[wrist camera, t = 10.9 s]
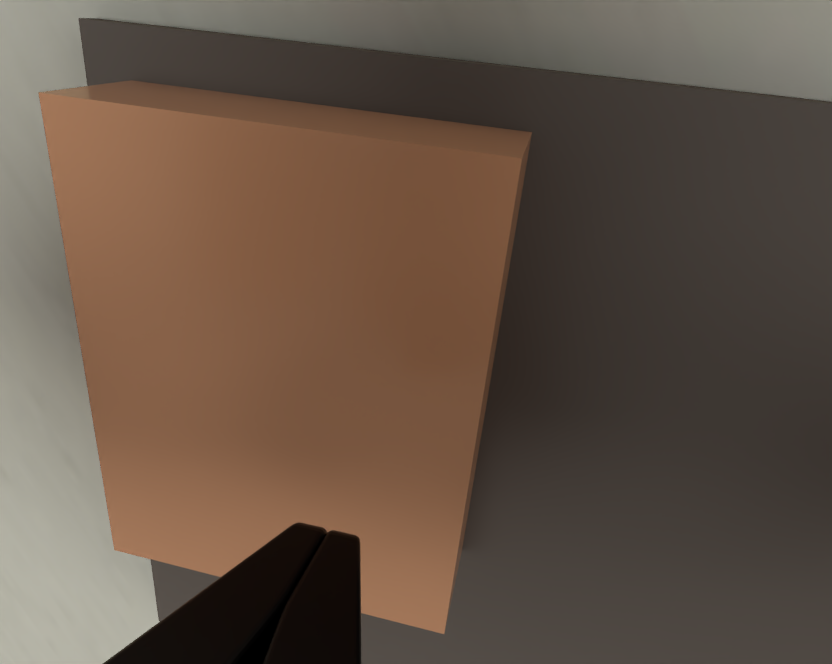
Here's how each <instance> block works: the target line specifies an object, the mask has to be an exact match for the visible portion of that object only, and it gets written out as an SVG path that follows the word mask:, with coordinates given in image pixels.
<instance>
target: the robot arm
mask: <svg viewBox="0 0 832 664" xmlns="http://www.w3.org/2000/svg"><path fill="white" fill-rule="evenodd" d="M103 664H362V663H361V557H360V538H359V537H358V536H356V535H353V534H349V533H344V532H340V531H336V530H331V531H329V532H327V530H326V529H324V528H323V527H319V526H314V525H310V524H306V523H301V522H298V523H295V524H293V525H291V526H290V527H288V528H287V529H286V530H284V531H283V532H281V533H280V534H279V535H277V536H276V537H275V538H273V539H272V540H271V541H269V542H268V543H266V544H265V545H264V546H262V547H261V548H260V549H258V550H257V551H256V552H254V553H253V554H252V555H250V556H249V557H247V558H246V559H245V560H243V561H242V562H241V563H239V564H238V565H237V566H235V567H234V568H232V569H231V570H230V571H228V572H227V573H226V574H224V575H223V576H222V577H220V578H219V579H217V580H216V581H215V582H213V583H212V584H211V585H209V586H208V587H207V588H205V589H204V590H203V591H201V592H200V593H198V594H197V595H196V596H194V597H193V598H192V599H190V600H189V601H188V602H186V603H185V604H183V605H182V606H181V607H179V608H178V609H177V610H175V611H174V612H173V613H171V614H170V615H168V616H167V617H166V618H164V619H163V620H162V621H160V622H159V623H158V624H156V625H155V626H154V627H152V628H151V629H149V630H148V631H147V632H145V633H144V634H143V635H141V636H140V637H139V638H137V639H136V640H134V641H133V642H132V643H130V644H129V645H128V646H126V647H125V648H124V649H122V650H121V651H120V652H118V653H117V654H115V655H114V656H113V657H111V658H110V659H109V660H107V661H106V662H105V663H103Z"/></svg>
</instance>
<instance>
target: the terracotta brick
mask: <svg viewBox="0 0 832 664" xmlns="http://www.w3.org/2000/svg"><path fill="white" fill-rule="evenodd" d="M39 98H40V104H41V110H42V116H43V122H44V128H45V134H46V140H47V146H48V152H49V158H50V164H51V170H52V176H53V182H54V188H55V194H56V200H57V206H58V212H59V218H60V225H61V231H62V237H63V243H64V249H65V255H66V261H67V267H68V273H69V279H70V285H71V291H72V297H73V303H74V309H75V315H76V321H77V327H78V333H79V339H80V345H81V351H82V357H83V363H84V369H85V375H86V381H87V387H88V393H89V399H90V405H91V411H92V417H93V423H94V429H95V435H96V441H97V447H98V453H99V459H100V466H101V472H102V478H103V484H104V490H105V496H106V502H107V508H108V514H109V520H110V526H111V532H112V538H113V544H114V550H117V551H121V552H125V553H128V554H132V555H136V556H140V557H144V558H148V559H152V560H156V561H160V562H164V563H168V564H171V565H175V566H179V567H183V568H187V569H191V570H195V571H199V572H203V573H207V574H211V575H214V576H218V577H222V576H223V575H224V574H226V573H227V572H228V571H230V570H231V569H232V568H234V567H235V566H237V565H238V564H239V563H241V562H242V561H243V560H245V559H246V558H247V557H249V556H250V555H252V554H253V553H254V552H256V551H257V550H258V549H260V548H261V547H262V546H264V545H265V544H266V543H268V542H269V541H271V540H272V539H273V538H275V537H276V536H277V535H279V534H280V533H281V532H283V531H284V530H286V529H287V528H288V527H290V526H291V525H293V524H295V523H298V522H301V523H306V524H310V525H314V526H319V527H323V528H324V529H326V530H327V532H329V531H331V530H336V531H340V532H344V533H349V534H353V535H356V536H358V537H359V538H360V557H361V613H363V614H367V615H371V616H375V617H379V618H383V619H387V620H391V621H394V622H398V623H402V624H406V625H410V626H414V627H418V628H422V629H426V630H430V631H434V632H437V633H441V634H444V633H445V628H446V623H447V619H448V614H449V609H450V604H451V600H452V595H453V590H454V586H455V581H456V576H457V572H458V567H459V562H460V557H461V553H462V547H463V541H464V535H465V529H466V523H467V517H468V511H469V505H470V500H471V494H472V488H473V482H474V476H475V470H476V464H477V458H478V452H479V446H480V440H481V434H482V428H483V422H484V416H485V410H486V404H487V398H488V392H489V386H490V380H491V374H492V368H493V362H494V356H495V350H496V344H497V338H498V332H499V326H500V320H501V314H502V308H503V302H504V296H505V290H506V285H507V279H508V273H509V267H510V261H511V255H512V249H513V243H514V237H515V231H516V225H517V219H518V213H519V207H520V201H521V195H522V189H523V183H524V177H525V171H526V165H527V159H528V153H529V147H530V141H531V135H532V132H526V131H519V130H511V129H503V128H495V127H488V126H480V125H472V124H465V123H457V122H449V121H441V120H434V119H426V118H418V117H411V116H403V115H395V114H387V113H380V112H372V111H364V110H356V109H349V108H341V107H333V106H326V105H318V104H310V103H302V102H295V101H287V100H279V99H272V98H264V97H256V96H248V95H241V94H233V93H225V92H217V91H210V90H202V89H194V88H187V87H179V86H171V85H163V84H156V83H148V82H140V81H133V80H130V81H122V82H114V83H107V84H99V85H92V86H84V87H77V88H69V89H61V90H54V91H46V92H39Z"/></svg>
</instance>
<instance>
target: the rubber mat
mask: <svg viewBox="0 0 832 664" xmlns="http://www.w3.org/2000/svg"><path fill="white" fill-rule="evenodd" d="M79 25H80V33H81V40H82V48H83V55H84V63H85V70H86V78H87V85H88V86H92V85H99V84H107V83H114V82H122V81H130V80H133V81H140V82H148V83H156V84H163V85H171V86H179V87H187V88H194V89H202V90H210V91H217V92H225V93H233V94H241V95H248V96H256V97H264V98H272V99H279V100H287V101H295V102H302V103H310V104H318V105H326V106H333V107H341V108H349V109H356V110H364V111H372V112H380V113H387V114H395V115H403V116H411V117H418V118H426V119H434V120H441V121H449V122H457V123H465V124H472V125H480V126H488V127H495V128H503V129H511V130H519V131H526V132H532V135H531V141H530V147H529V153H528V159H527V165H526V171H525V177H524V183H523V189H522V195H521V201H520V207H519V213H518V219H517V225H516V231H515V237H514V243H513V249H512V255H511V261H510V267H509V273H508V279H507V285H506V290H505V296H504V302H503V308H502V314H501V320H500V326H499V332H498V338H497V344H496V350H495V356H494V362H493V368H492V374H491V380H490V386H489V392H488V398H487V404H486V410H485V416H484V422H483V428H482V434H481V440H480V446H479V452H478V458H477V464H476V470H475V476H474V482H473V488H472V494H471V500H470V505H469V511H468V517H467V523H466V529H465V535H464V541H463V547H462V553H461V557H460V562H459V567H458V572H457V576H456V581H455V586H454V590H453V595H452V600H451V604H450V609H449V614H448V619H447V623H446V628H445V633H444V634H441V633H437V632H434V631H430V630H426V629H422V628H418V627H414V626H410V625H406V624H402V623H398V622H394V621H391V620H387V619H383V618H379V617H375V616H371V615H367V614H363V613H361V663H362V664H832V102H827V101H819V100H810V99H801V98H792V97H783V96H774V95H766V94H757V93H748V92H739V91H730V90H721V89H713V88H704V87H695V86H686V85H677V84H668V83H659V82H651V81H642V80H633V79H624V78H615V77H606V76H598V75H589V74H580V73H571V72H562V71H553V70H545V69H536V68H527V67H518V66H509V65H500V64H492V63H483V62H474V61H465V60H456V59H447V58H439V57H430V56H421V55H412V54H403V53H394V52H386V51H377V50H368V49H359V48H350V47H341V46H333V45H324V44H315V43H306V42H297V41H288V40H280V39H271V38H262V37H253V36H244V35H235V34H227V33H218V32H209V31H200V30H191V29H182V28H174V27H165V26H156V25H147V24H138V23H129V22H121V21H112V20H103V19H93V18H79ZM151 565H152V572H153V580H154V587H155V595H156V602H157V610H158V617H159V621H162V620H163V619H164V618H166V617H167V616H168V615H170V614H171V613H173V612H174V611H175V610H177V609H178V608H179V607H181V606H182V605H183V604H185V603H186V602H188V601H189V600H190V599H192V598H193V597H194V596H196V595H197V594H198V593H200V592H201V591H203V590H204V589H205V588H207V587H208V586H209V585H211V584H212V583H213V582H215V581H216V580H217V579H219V578H220V577H218V576H214V575H211V574H207V573H203V572H199V571H195V570H191V569H187V568H183V567H179V566H175V565H171V564H168V563H164V562H160V561H156V560H152V559H151Z"/></svg>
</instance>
